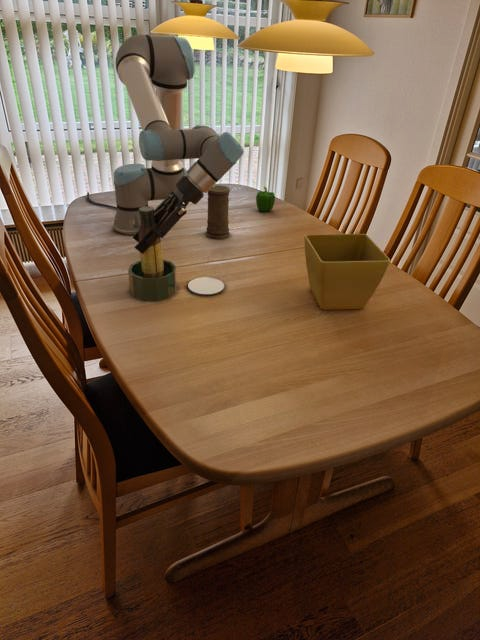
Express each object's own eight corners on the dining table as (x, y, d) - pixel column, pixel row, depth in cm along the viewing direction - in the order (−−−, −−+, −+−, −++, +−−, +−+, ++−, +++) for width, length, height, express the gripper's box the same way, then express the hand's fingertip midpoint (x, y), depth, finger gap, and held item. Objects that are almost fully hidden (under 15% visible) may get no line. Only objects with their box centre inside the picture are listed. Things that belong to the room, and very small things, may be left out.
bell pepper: (273, 214, 192) (275, 191, 187) (254, 212, 193) (256, 189, 188) (274, 208, 199) (276, 186, 194) (256, 206, 200) (258, 184, 195)
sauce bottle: (159, 268, 132) (155, 203, 121) (167, 277, 127) (163, 210, 116) (138, 272, 129) (132, 205, 118) (145, 281, 124) (139, 213, 113)
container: (229, 239, 165) (230, 192, 156) (205, 238, 165) (205, 190, 155) (229, 231, 173) (231, 185, 163) (207, 230, 173) (207, 183, 163)
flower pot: (312, 317, 121) (321, 261, 112) (297, 284, 137) (303, 233, 128) (378, 315, 124) (392, 260, 115) (355, 283, 140) (366, 233, 131)
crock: (121, 292, 128) (118, 271, 124) (150, 275, 138) (148, 255, 134) (157, 305, 123) (156, 283, 119) (185, 286, 133) (184, 265, 129)
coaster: (180, 289, 131) (180, 287, 131) (200, 275, 139) (200, 273, 139) (211, 299, 127) (211, 297, 127) (230, 284, 135) (230, 283, 135)
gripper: (212, 205, 112) (151, 268, 116) (197, 183, 127) (144, 240, 132) (191, 184, 107) (129, 251, 112) (178, 165, 123) (124, 224, 127)
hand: (137, 245), depth 122 cm, fingers closed on sauce bottle, 6 cm apart
